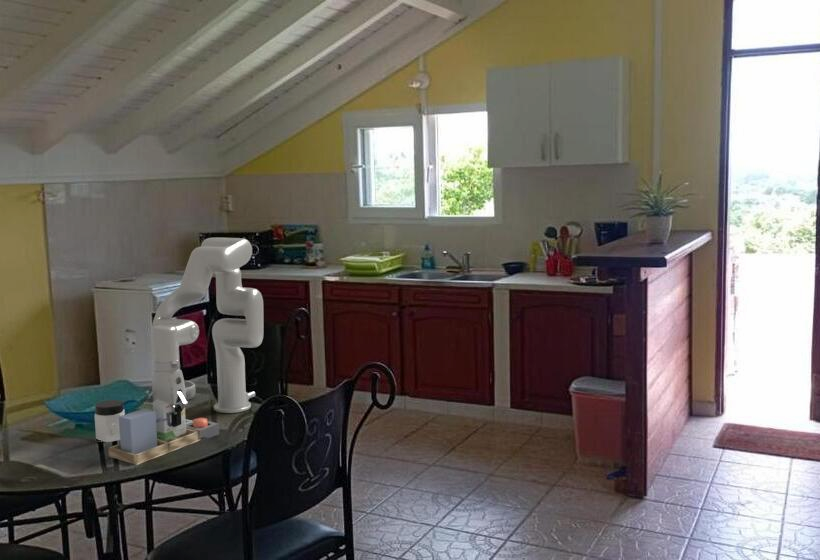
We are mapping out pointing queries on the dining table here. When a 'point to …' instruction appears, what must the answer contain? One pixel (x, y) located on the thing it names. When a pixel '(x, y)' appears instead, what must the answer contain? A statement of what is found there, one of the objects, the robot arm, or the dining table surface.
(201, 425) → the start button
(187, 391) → the dish
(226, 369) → the robot arm
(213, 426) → the grey square frame
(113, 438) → the jar
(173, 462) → the dining table surface
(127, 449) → the seated billet
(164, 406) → the ink box
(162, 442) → the wooden compartment tray
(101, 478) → the dining table surface
